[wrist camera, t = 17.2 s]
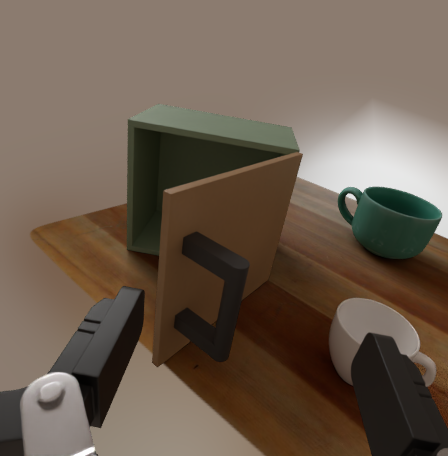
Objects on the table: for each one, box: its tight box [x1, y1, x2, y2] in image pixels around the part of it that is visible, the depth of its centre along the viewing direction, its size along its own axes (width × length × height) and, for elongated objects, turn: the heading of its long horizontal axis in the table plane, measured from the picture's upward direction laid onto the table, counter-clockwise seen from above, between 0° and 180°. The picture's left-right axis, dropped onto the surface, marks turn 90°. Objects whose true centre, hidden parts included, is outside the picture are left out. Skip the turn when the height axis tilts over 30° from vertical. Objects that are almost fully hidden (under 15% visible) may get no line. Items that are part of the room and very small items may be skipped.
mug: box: [338, 187, 442, 259], centre depth 59 cm, size 17×13×10 cm
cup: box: [329, 298, 436, 387], centre depth 33 cm, size 8×10×7 cm
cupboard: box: [127, 104, 299, 256], centre depth 49 cm, size 13×21×19 cm, turn 84°
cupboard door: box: [152, 152, 303, 367], centre depth 33 cm, size 7×21×18 cm, turn 141°
